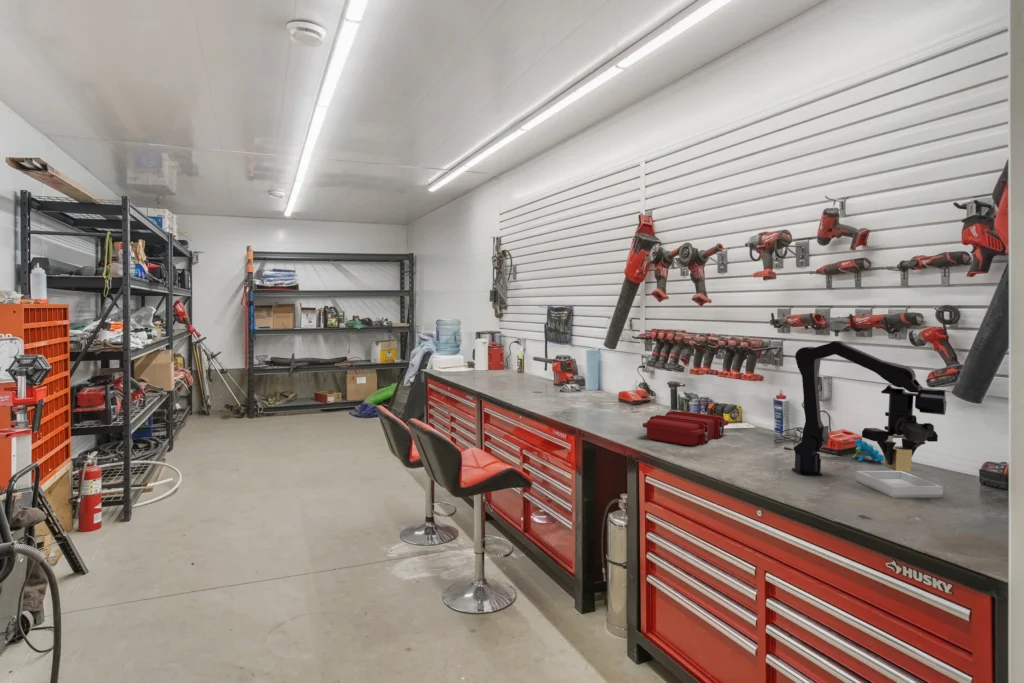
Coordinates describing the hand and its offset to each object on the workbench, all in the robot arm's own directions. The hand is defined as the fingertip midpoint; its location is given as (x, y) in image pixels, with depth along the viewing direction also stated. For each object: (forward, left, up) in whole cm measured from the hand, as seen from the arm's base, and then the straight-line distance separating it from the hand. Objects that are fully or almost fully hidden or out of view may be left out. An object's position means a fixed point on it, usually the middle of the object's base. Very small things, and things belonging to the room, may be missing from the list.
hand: (897, 464), depth 166 cm
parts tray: (0, 0, -7) cm, 7 cm away
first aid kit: (-37, +69, -8) cm, 79 cm away
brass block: (0, 0, -1) cm, 1 cm away
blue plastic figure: (+12, +31, -7) cm, 34 cm away
